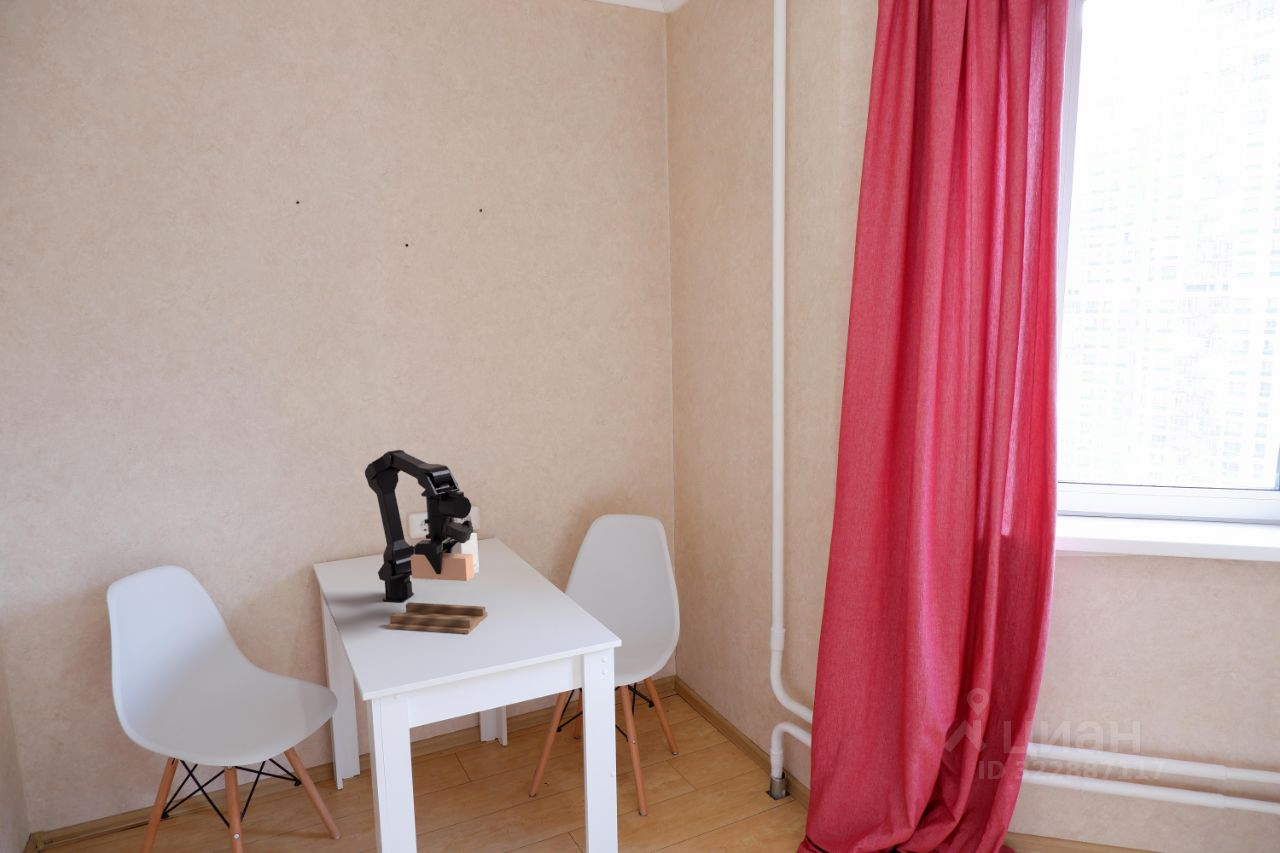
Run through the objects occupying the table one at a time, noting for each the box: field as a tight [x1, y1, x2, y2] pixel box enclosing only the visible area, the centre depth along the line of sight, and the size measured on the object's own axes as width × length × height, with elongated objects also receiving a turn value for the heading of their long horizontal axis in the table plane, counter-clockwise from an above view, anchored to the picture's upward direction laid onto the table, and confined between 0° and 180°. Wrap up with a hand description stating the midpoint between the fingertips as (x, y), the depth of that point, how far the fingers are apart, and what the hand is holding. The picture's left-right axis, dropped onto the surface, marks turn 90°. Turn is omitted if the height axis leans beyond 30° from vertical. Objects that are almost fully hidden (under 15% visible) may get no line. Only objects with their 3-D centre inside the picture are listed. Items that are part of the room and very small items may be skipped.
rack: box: [387, 601, 489, 635], centre depth 196 cm, size 22×12×3 cm, turn 78°
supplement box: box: [452, 532, 480, 575], centre depth 234 cm, size 7×7×13 cm
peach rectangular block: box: [411, 553, 475, 582], centre depth 200 cm, size 16×4×6 cm, turn 75°
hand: (442, 571), depth 200 cm, fingers closed on peach rectangular block, 4 cm apart
